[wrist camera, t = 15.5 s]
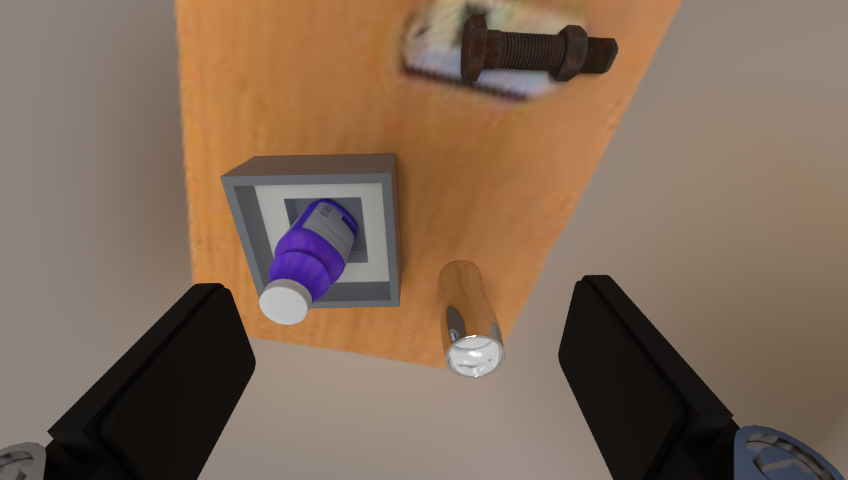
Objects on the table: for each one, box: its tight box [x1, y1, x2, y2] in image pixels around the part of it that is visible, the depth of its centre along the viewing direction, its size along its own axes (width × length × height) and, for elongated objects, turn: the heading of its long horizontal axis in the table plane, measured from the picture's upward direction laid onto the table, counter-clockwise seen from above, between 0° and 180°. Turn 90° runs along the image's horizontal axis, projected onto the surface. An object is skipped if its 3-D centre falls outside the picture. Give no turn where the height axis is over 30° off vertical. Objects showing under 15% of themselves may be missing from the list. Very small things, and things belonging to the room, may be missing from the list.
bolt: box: [461, 14, 618, 82], centre depth 33 cm, size 6×5×15 cm
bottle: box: [259, 199, 357, 325], centre depth 36 cm, size 7×6×17 cm
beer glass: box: [440, 261, 505, 378], centre depth 42 cm, size 7×7×15 cm
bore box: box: [220, 154, 402, 308], centre depth 41 cm, size 17×17×8 cm
